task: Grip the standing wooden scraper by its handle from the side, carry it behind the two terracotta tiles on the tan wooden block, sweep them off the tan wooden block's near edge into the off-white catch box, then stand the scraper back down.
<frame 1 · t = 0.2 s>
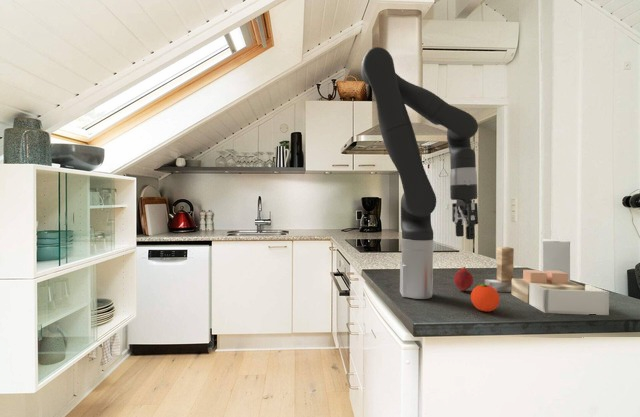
hand: (464, 237, 106), 18 cm above the countertop, tool pointing down, fingers open, 8 cm apart
catch box: (566, 309, 95), on the countertop
clementine: (483, 311, 93), on the countertop
scraper: (504, 290, 115), on the countertop
tan wooden block: (547, 299, 104), on the countertop
onion: (463, 291, 113), on the countertop
tile right: (555, 281, 105), point 5 cm above the countertop, touching tan wooden block
tile left: (534, 281, 106), point 5 cm above the countertop, touching tan wooden block
skincare box: (555, 283, 126), on the countertop
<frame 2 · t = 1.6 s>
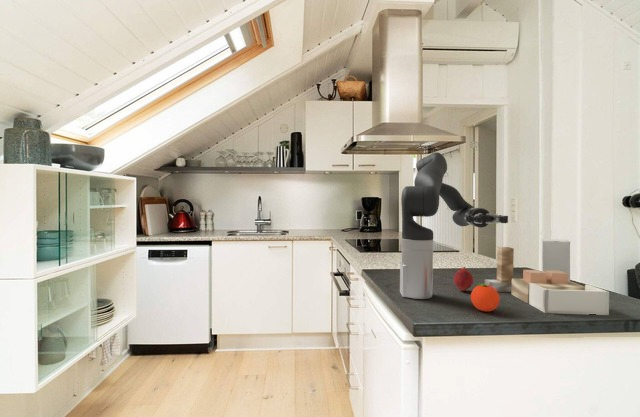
hand: (493, 220, 125), 22 cm above the countertop, tool horizontal, fingers open, 8 cm apart
nothing on the countertop moved.
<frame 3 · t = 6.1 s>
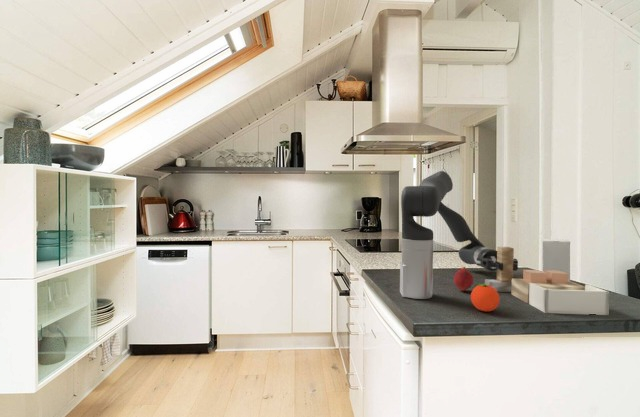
hand: (508, 267, 112), 8 cm above the countertop, tool horizontal, fingers closed on scraper, 3 cm apart
scraper: (504, 290, 115), on the countertop, touching gripper
everything else where it was.
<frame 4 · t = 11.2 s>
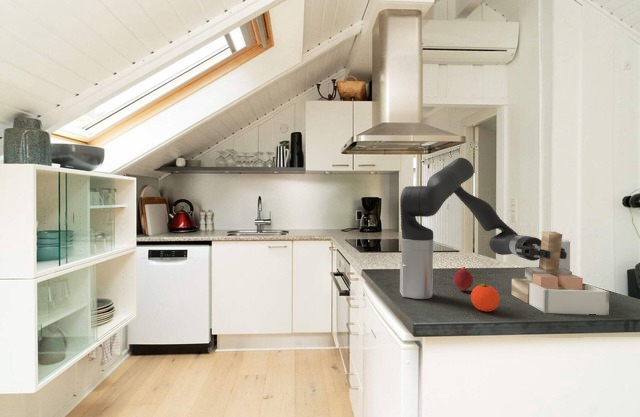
hand: (556, 255, 100), 14 cm above the countertop, tool horizontal, fingers closed on scraper, 3 cm apart
scraper: (547, 279, 104), point 6 cm above the countertop, tilted 8°, touching gripper, tile left, tile right
tile right: (568, 286, 100), point 5 cm above the countertop, touching scraper
tile left: (544, 285, 100), point 5 cm above the countertop, touching tan wooden block, scraper
everything else where it was.
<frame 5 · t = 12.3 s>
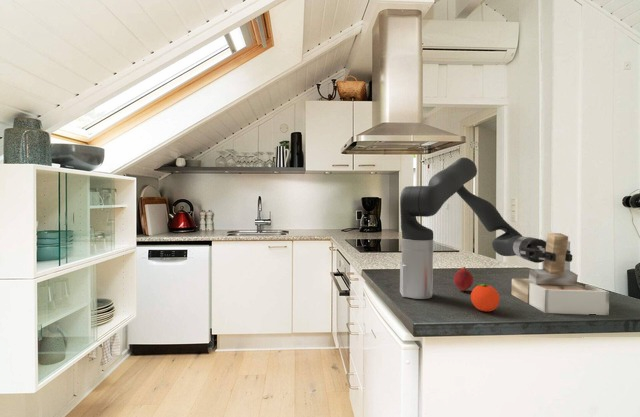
hand: (562, 257, 97), 13 cm above the countertop, tool horizontal, fingers closed on scraper, 3 cm apart
scraper: (552, 281, 102), point 6 cm above the countertop, tilted 9°, touching gripper
tile right: (571, 295, 98), point 3 cm above the countertop, tilted 90°, touching catch box
tile left: (547, 294, 99), point 3 cm above the countertop, tilted 90°, touching catch box
everything else where it was.
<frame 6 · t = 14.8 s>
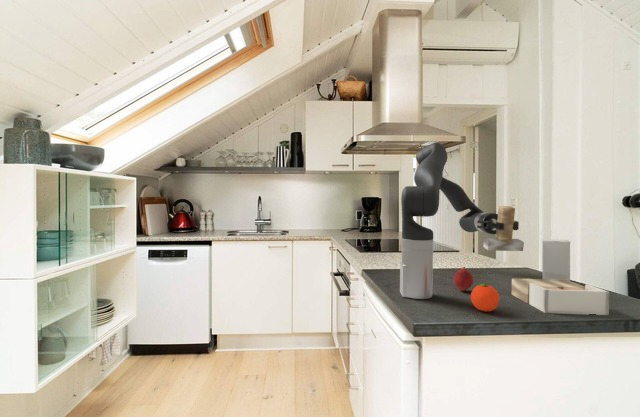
hand: (509, 226, 111), 21 cm above the countertop, tool horizontal, fingers closed on scraper, 3 cm apart
scraper: (502, 248, 116), point 13 cm above the countertop, tilted 9°, touching gripper
everything else where it was.
when the fingers open (9 cm above the countertop, at t = 17.2 s): scraper stays where it is, on the countertop.
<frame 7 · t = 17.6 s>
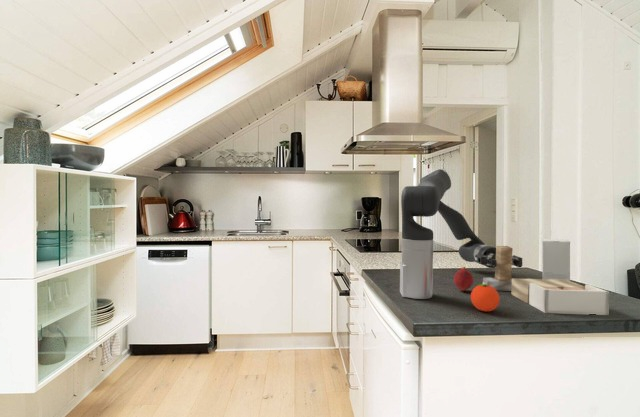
hand: (508, 263, 112), 9 cm above the countertop, tool horizontal, fingers open, 7 cm apart
scraper: (502, 288, 116), on the countertop
everything else where it was.
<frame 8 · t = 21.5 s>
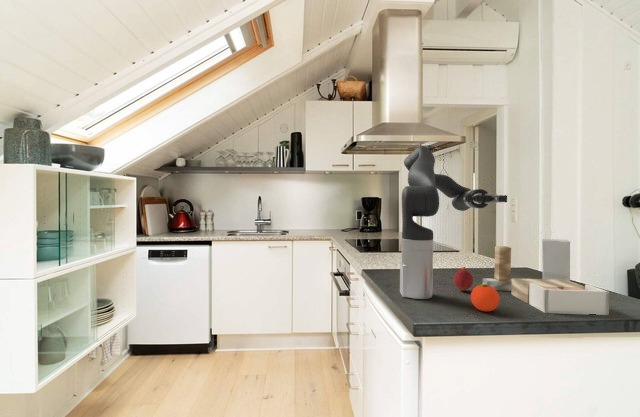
hand: (492, 198, 125), 30 cm above the countertop, tool horizontal, fingers open, 8 cm apart
at the end: tile left inside the target area (5.2 cm from its centre), point 2.8 cm above the countertop; tile right inside the target area (5.3 cm from its centre), point 2.8 cm above the countertop; the gripper is holding nothing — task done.
